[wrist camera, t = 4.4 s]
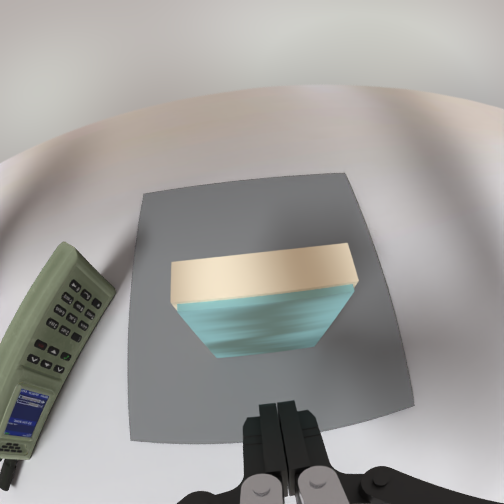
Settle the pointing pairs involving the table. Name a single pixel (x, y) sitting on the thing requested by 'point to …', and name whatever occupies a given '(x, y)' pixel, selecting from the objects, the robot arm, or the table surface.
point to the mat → (269, 364)
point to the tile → (263, 298)
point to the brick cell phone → (45, 348)
